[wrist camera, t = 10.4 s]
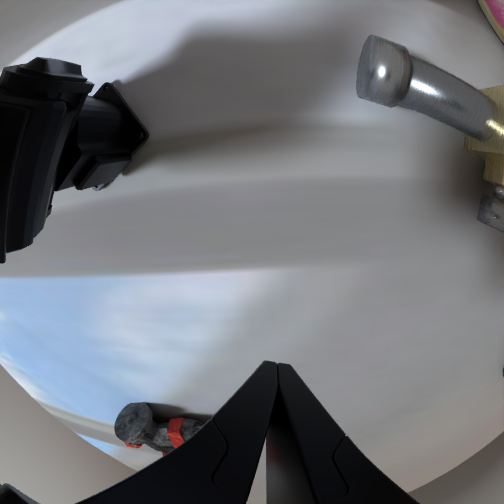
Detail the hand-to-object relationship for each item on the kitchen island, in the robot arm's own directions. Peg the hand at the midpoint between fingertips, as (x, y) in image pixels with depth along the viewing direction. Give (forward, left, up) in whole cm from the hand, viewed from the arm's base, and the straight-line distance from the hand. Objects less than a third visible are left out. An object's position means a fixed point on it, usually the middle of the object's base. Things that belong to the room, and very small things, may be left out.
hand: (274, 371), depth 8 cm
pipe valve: (0, +17, -12) cm, 20 cm away
